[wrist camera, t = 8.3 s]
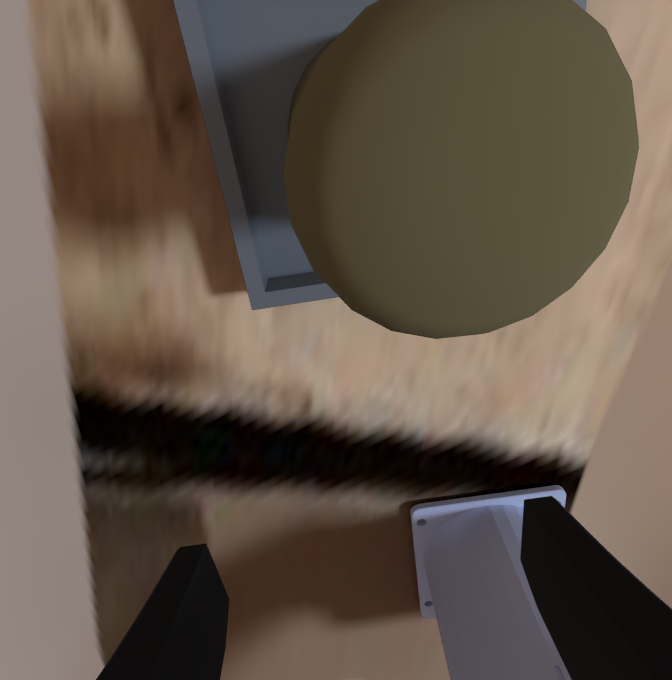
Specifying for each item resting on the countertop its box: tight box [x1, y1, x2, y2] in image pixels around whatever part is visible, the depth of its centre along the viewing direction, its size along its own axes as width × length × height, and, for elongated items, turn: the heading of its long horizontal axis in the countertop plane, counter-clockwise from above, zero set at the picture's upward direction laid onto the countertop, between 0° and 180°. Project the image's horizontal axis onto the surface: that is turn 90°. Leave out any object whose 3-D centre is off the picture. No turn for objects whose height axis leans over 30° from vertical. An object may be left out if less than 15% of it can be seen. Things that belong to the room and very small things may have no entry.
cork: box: [283, 0, 639, 339], centre depth 11 cm, size 6×6×11 cm
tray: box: [173, 0, 586, 310], centre depth 15 cm, size 11×11×2 cm
